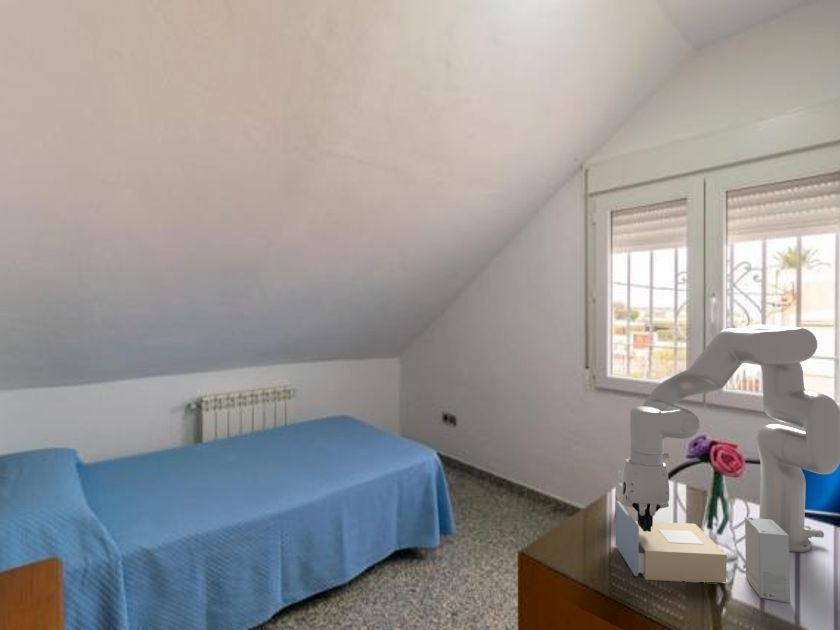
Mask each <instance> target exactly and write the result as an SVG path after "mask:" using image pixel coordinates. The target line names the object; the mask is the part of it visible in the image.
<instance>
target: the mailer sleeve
mask: <svg viewBox="0 0 840 630" xmlns="http://www.w3.org/2000/svg"><path fill="white" fill-rule="evenodd" d="M635 522H636V524H637V525H638V521H635ZM638 526H639V525H638ZM639 544H640V546H641V547H642V548H643V550H644V551H645V571H644V573H641V575H642V576H643V578H644V580H647V581H648V580H649V581H665V582H667V581H669V582H681V583H682V581H685V582H684V583H699V582H704V583H703V584H709V583H708V582H726V583H727V560H728V559H727V558H728V557H727V556H728V555H727V553H726V552H725V551H724V550H723V549H722V548H721V547H720V546H718V545H717V544H716V542H715V541H713V540H712V538H710V537H709V536H708V535H707V534H706V532H704V531H703V530H702V529H701V528H700V527H699V526H698V525H697V524H696V523H688V522H685V523H682V522H668V521H667V522H664V521H663V522H661V521H653V526H652V527H651V532H648V531H646V532H645V531H643V530H642V528H641V527H640V526H639ZM705 582H707V583H705Z"/></svg>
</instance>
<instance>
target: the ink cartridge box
mask: <svg viewBox="0 0 840 630" xmlns="http://www.w3.org/2000/svg"><path fill="white" fill-rule="evenodd" d="M622 477H623V470H617V471H616V480H615V490H614V491H615V494H614V495H615V497H614V498H615V499H614V519H616V501H620V503H621V504H622V505H623V507H624V508H625V509H626V511H627V512H628V513H629V514H630V516H631V517H632V518H633V520H634V521H638V512H637V511H636V510H635V509H634V508H633V507H629V506H626V505H624V503H623V502H622V501H623V497H624V495H623V494H622ZM624 487H625V486H624ZM645 508H646V504H644V509H645Z"/></svg>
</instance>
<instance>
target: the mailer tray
mask: <svg viewBox="0 0 840 630" xmlns="http://www.w3.org/2000/svg"><path fill="white" fill-rule="evenodd" d="M615 546H616V548H617V550H618V551H619V553H620V555H621V556H622V557H623V559H624V561H625V562H626V564H627V565H628V567H629V569H630V571H631V572H632V574H633V576H635V577H639V574H642V573H644V571H645V551H644V550H643V548H642V547H641V546H640V544H639V526H638V525H637V524H636V522H635V521H634V520H633V518H632V517H631V516H630V514H629V513H628V512H627V511H626V509H625V508H624V507H623V505H622V504H621V503H620V501H616V518H615Z"/></svg>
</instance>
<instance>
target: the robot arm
mask: <svg viewBox="0 0 840 630" xmlns="http://www.w3.org/2000/svg"><path fill="white" fill-rule="evenodd" d="M817 349H818V340H817V338H816V335H815V334H814V333H813V332H812V331H810V330H808V329H807V328H802V327H797V326H783V325H782V326H781V325H780V326H779V325H770V324H751V325H748V326H745V327H743V328H727V329H723V330H721V331H719V332H717V333H716V334H715V336H714V337H713V338H712V340H711V341H709V343H708V345H707V346H706V347H705V348H704V349H703V351H702V353H701V354H699V356H698V357H697V359H696V360H695V361H694V362H693V363H692V365H690V367H689V368H687V369H685V370H683V371H680V372H679V373H676V374H675V375H673V376H671V377H669V378H667V379H666V380H664V381H662V382H661V383H660V384H658V385H657V386H656V387H655V388H654V389H653V390H652V391H651V393H650V394H649V396H647V398H646V399H645V401H644V402H643V404H642V405H640V406H634V407H633V408H631V410H630V413H629V458H626V459H625V462H624V464H623V465H624V466H623V469H622V471H623V477H622V494H623V495H624V497H623V501H622V502H623V503H624V505H626V506H629V507H633V508H634V509H635V510H636V511H637V512H638V525H639V526H640V527H641V528H642V530H643V531H645V532H646V531H648V532H651V527H652V526H653V522H654V521H653V520H654V518H653V517H655V515H656V513H657V512H658V511H659V510H660V509H665V508H668V507H669V505H670V504H669V501H670V482H669V474H668V469H667V466H666V463H665V460H667V459H670V454H669V453H668V452H665V451H664V442H665V441H664V440H665V438H669V439H679V440H680V439H681V440H686V439H690V438H692V437H693V436H695V435H697V433H698V432H699V430H700V427H701V426H700V425H701V424H700V423H701V422H700V420H699V418H698V416H697V415H696V414H695V413H694V412H693V411H691V410H689V409H687V408H683V407H680V406H679V405H676V404H677V403H678V402H679V401H682V400H683V399H685V398H688V397H692V396H695V395H701V394H707V393H712V392H718V391H720V390H722V389H724V387H725V386H726V385H727V383H728V381H730V380H731V378H732V377H733V375H734V374H735V373H736V372H737V371H738V369H739V368H740V367H741V366H742V364H749V365H750V364H751V365H757V366H760V368H761V370H762V371H761V372H762V397H763V398H762V399H763V401H762V403H763V410H764V412H765V415H766V416H767V417H769V418H770V419H773V420H776V421H778V422H781V423H782V422H783V423H785V424H790V425H793V426H797V427H801V428H804V430H802V429H799V428H795V427H792V426H788V425H784V424H779V423H778V424H777V423H771V424H765V425H763V426H762V427H761V428H760V429H759V430H758V432H757V435H756V446H757V450H758V454H759V455H758V456H759V460H760V483H759V484H760V486H759V490H760V491H759V517H758V518H760V519H770V520H773V521H774V522H775V523H776V524H777V525H778V526H779V527H780V528H781V529H782V530H783V531H784V532H786V533H787V534H788V535H789V552H792V553H806V552H809V551H810V550H812V542H811V540H810V539H812V537H814V538H824V536H825V533H824V531H823V530H822V529H814V528H811V526H810V525H805V521H806V520H805V518H806V517H805V513H806V511H805V510H806V487H807V486H806V477H805V474H804V472H803V470H805V471H809V472H812V473H816V474H820V475H829V474H832V473H834V472H835V471H836V470H837V469H838V467H839V465H840V407H839V405H838V404H837V402H836V401H835V400H834V399H833V398H832V397H830V396H829V395H827V394H824V393H820V392H814V391H810V390H807V389H805V384H804V383H805V382H804V371H803V368H802V365H801V363H802V362H804V361H807V360H809V359H810V358H812V357H813V356H814V354H815V353H816V351H817ZM624 486H625V487H624ZM644 504H646V508H645V509H644Z"/></svg>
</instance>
